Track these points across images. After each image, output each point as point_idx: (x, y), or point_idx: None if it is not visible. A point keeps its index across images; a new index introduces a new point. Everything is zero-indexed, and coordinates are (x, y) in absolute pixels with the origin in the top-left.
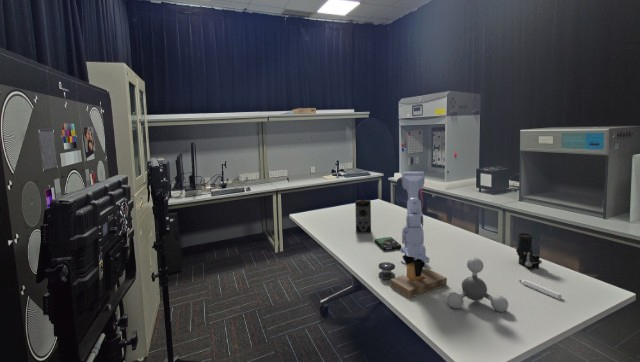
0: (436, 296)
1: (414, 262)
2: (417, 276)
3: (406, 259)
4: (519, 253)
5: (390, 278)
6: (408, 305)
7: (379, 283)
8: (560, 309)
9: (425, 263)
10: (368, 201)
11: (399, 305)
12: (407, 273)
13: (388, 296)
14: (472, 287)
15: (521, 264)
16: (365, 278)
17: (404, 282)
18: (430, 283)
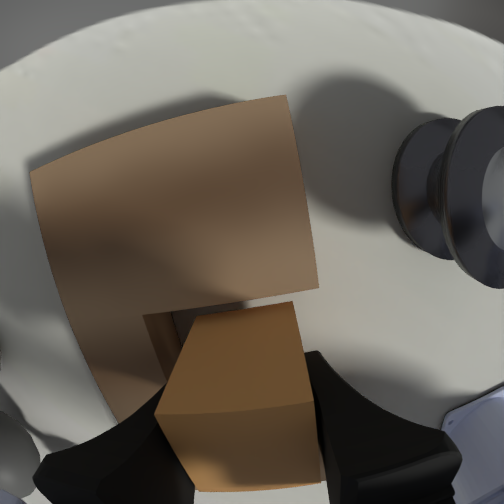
0: (57, 340)
1: (71, 471)
2: None
3: (335, 464)
4: None
5: (396, 180)
6: (12, 127)
7: (360, 57)
8: (30, 495)
9: (2, 489)
10: None
11: (29, 76)
12: (285, 327)
13: (134, 34)
14: None
15: None
16: (455, 30)
17: (157, 202)
18: (100, 389)
